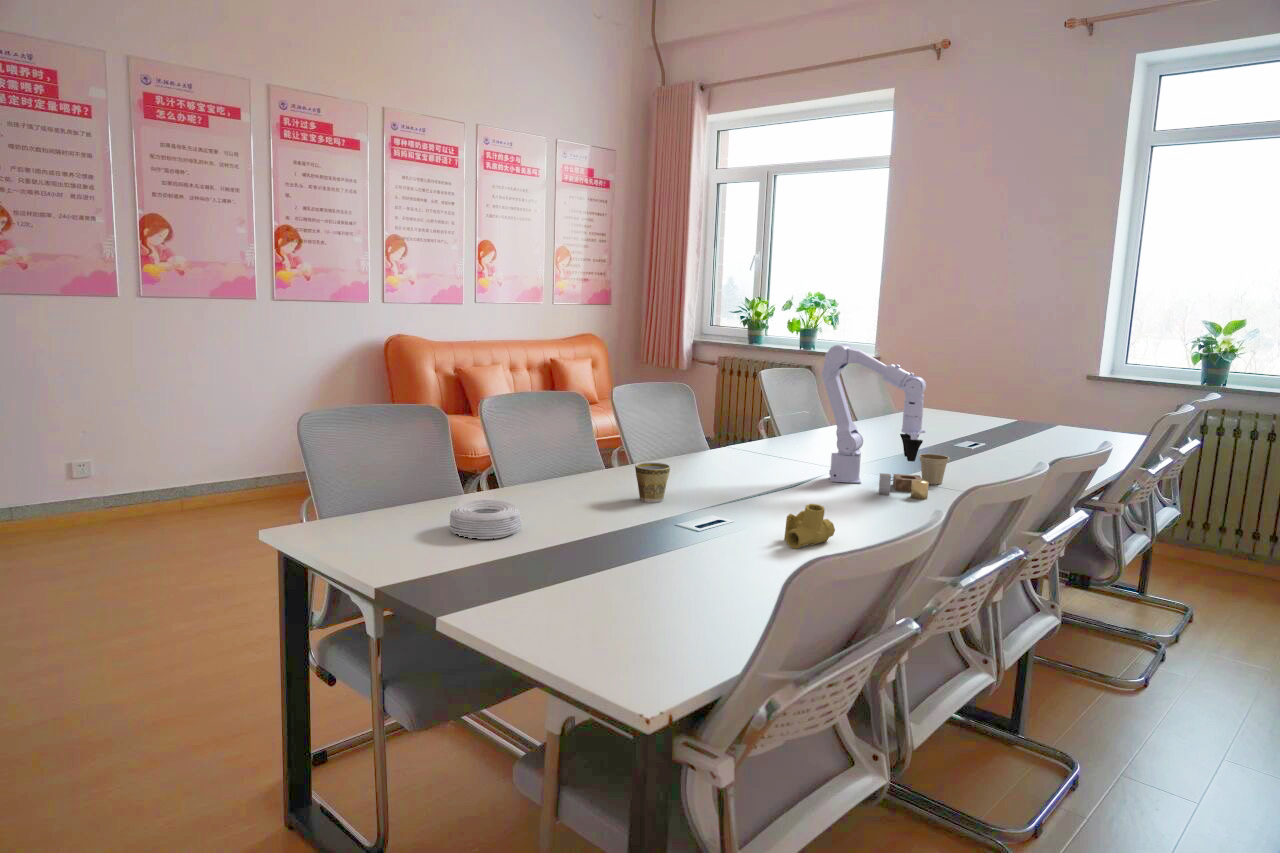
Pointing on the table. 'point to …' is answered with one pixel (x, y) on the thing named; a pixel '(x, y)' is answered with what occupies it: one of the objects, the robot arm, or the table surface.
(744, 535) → the table surface
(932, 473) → the flower pot
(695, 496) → the table surface
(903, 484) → the block
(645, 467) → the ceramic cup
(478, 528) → the cable
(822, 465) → the table surface
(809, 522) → the tan pipe tee fitting
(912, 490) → the round bit
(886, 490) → the square bit
